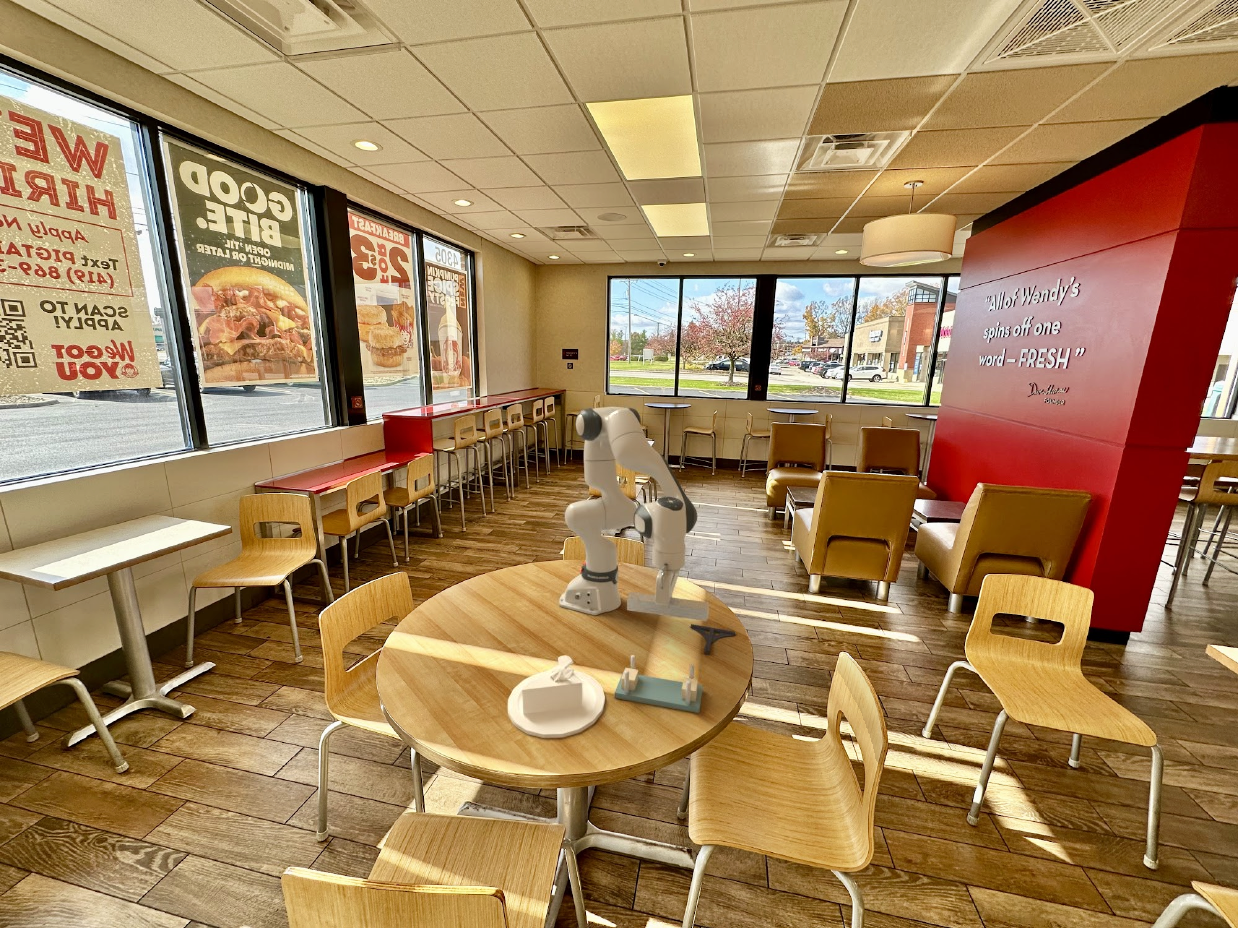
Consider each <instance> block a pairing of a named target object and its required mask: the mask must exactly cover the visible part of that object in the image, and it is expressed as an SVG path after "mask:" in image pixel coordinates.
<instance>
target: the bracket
mask: <svg viewBox="0 0 1238 928" xmlns="http://www.w3.org/2000/svg"><path fill="white" fill-rule="evenodd" d="M689 629H691V630H692V631H694V632H697V633H699V634H700V635H701V636H702V637H703V638H704V640H705V642H706V643H705V645H704V651H703V653H704V655H707V656H708V655H710V650H711V647H712V644H714V642H716V641H718V640H720V639H723V638H729V637H735V636H736V631H734V630H728V629H722V628H718V627H717V628H716V627H710V626H706V625H698V624H693V623H691V624H690V628H689ZM707 632H709V633H707ZM715 633H716V634H715Z"/></svg>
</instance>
